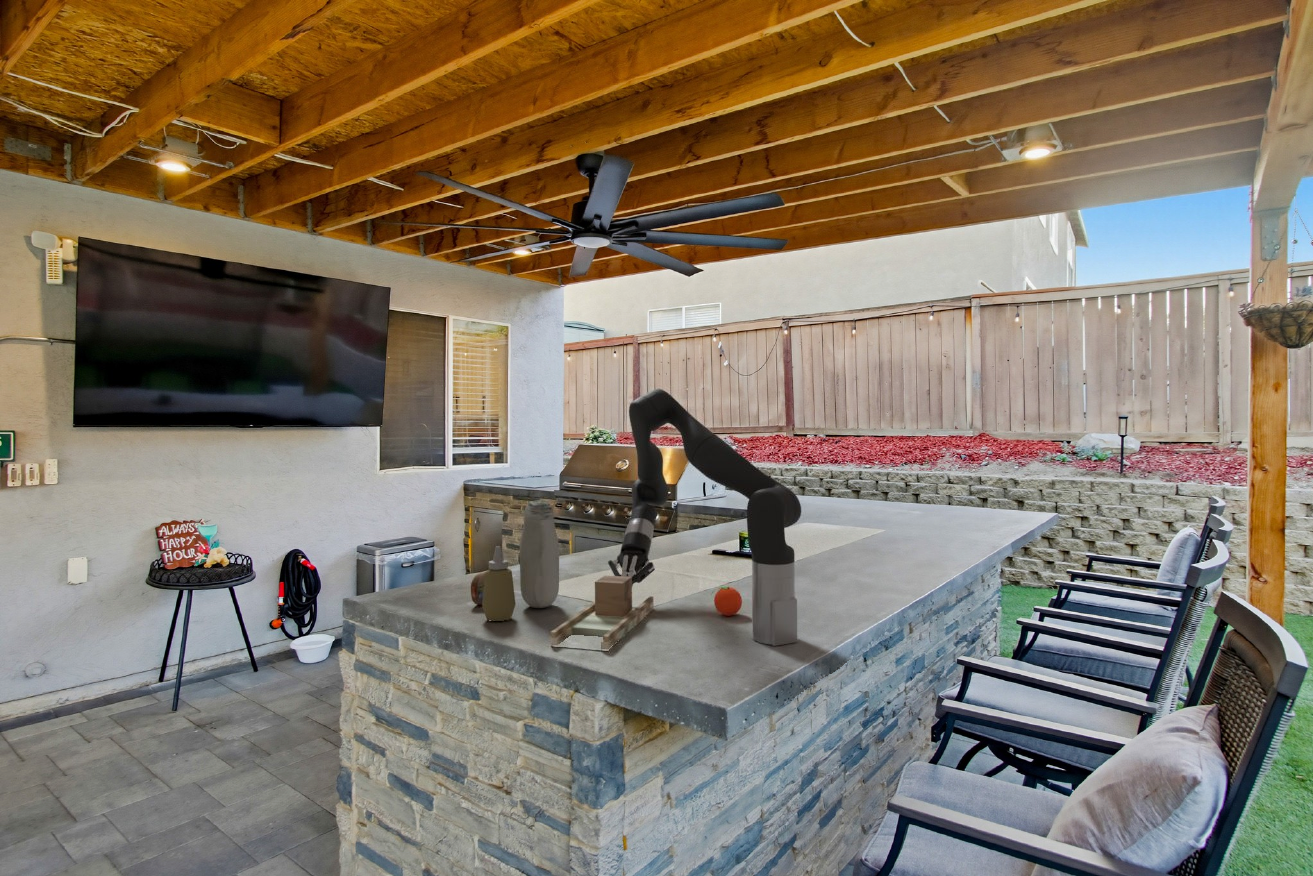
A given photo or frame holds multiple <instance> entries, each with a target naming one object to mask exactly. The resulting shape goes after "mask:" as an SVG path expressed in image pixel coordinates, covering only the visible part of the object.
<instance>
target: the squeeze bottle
mask: <svg viewBox="0 0 1313 876" xmlns="http://www.w3.org/2000/svg"><path fill="white" fill-rule="evenodd" d="M484 572H485V571H484ZM513 579H514V578H513V571H512V569H510V568H509V560H507V559H504V556H503V551H502V547H501V546H500V545H496V546H495V549H494V553H493V558H492V560H489V561H488V570H486V572H485V578H484V590H483V601H482V605H481V607H482V609H483V613H484V616H485V618H486V620H487V621H488V620H491V621H503V622H505V621H504V620H507V621H509V619H510V620H511V619H512V616H513V613H514V610H515V607H516V604H517V603H516V596H515V589H514V588H515V587H514V580H513Z"/></svg>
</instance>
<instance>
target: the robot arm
mask: <svg viewBox="0 0 1313 876" xmlns="http://www.w3.org/2000/svg"><path fill="white" fill-rule="evenodd" d="M628 416H629V417H628V418H629V423H630V427H631V431H632V433H631V434H632V436H633V441H634V444H635V450H636V455H637V457H636V458H637V477H638V479H637V478H636V480H635V481H634V482H633V484H632V486H631V499H632V509H631V514H630V518H629V522H628V524H627V526H626V528H625V532H624V536H623V539H622V544H621V548H620V552H619V554H618V555H617V557H616V559H614V560H612V559H610V560H608V561H607V564H608V566H609V568H610V570H611V572H612V574H613V576H623V577H632V587H633V586H634V584H636V583H638V584H640V583H641V582H642V581H644V580H645V579H646V578H647V577H648V576H650V575H652V573H653V572H654V571H656V569H655V565H654V563H653V562H652V561H651V562H650V561H649V560H650V559H649V555H650V549H651V547H652V542H653V538H654V529H655V524H656V520H657V516H658V515H657V514H658V513H657V510H656V507H654V506H657V507H658V506H660V507H661V506H663V505H664V504H666V502H667V500H668V499H669V498H668V497H669V487H668V484H667V481H666V479H665V477H664V458H663V457H664V456H663V453H662V452H661V450H660V448H659V447H658V446H657V445H656V444H655V443H654V442H652V441H651V434H652V432H653V431H657V430H658V429H659V428H661V427H663V426H665V425H666V424H670V425H672V426H673V427H674V428H675V429H676V430H677V431H678V432H679V433H680V435H681V439H682V440H681V441H682V446H683V450H684V453H685V456H686V457H685V458H686V459H687V461H688V462H689V463H690V464H691V466H693V467H694V468H695V469H696V470H698V472H700V473H701V474H702V475H703V476H705V477H707V478H708V479H709V480H711V481H713V482H714V483H717V484H718V485H721V486H723V487H725V488H728V489H730V490H732V491H735V492H737V493H739V494H741V495H742V496H744V497H746V498H747V499H748V502H747V504H746V505H747V506H746V528H747V529H746V530H747V542H748V548H749V551H750V553H751V572H752V573H751V584H752V585H751V589H752V590H751V591H752V592H751V593H752V595H751V596H752V597H751V599H752V602H751V603H752V604H751V606H752V608H751V609H752V639H753V640H754V641H756V642H758V643H761V644H765V645H771V646H774V647H777V646H781V645H787V644H792V643H793V644H795V643H798V599H797V598H796V594H795V593H796V591H795V589H796V586H795V579H796V577H795V576H796V575H795V574H796V573H795V569H796V568H795V566H796V565H795V560H796V559H795V549H794V548H793V547H792V546H790V545H788V543H787V542H786V535H785V534H786V532H785V529H786V528H789V527H791V526H793V525H795V524H797V522H798V521H799V520H800V518H801V516H802V506H801V503H800V500H799V497H798V496H797V495H796V494H795V492H794V491H793V490H791V489H790V488H788V487H787V486H785V485H784V484H782V483H780V482H779V481H777V480H776V479H774V478H772V477H771V476H769V475H767V474H766V473H765V472H763V471H762V470H760V468H759V469H758V468H757V467H756V466H755V465H754V464H753V463H751V461H749V460H748V459H747V458H745V457H744V456H743V455H742V454H740V453H739V452H737V450H736V449H734V448H733V447H732V446H731V445H729V444H728V443H727V442H726V441H725V440H724V439H722V438H721V437H720V436H718V435H717V434H715V432H714V433H713V432H712V431H711V430H710V429H709V428H707V427H706V426H705V425H704V424H702V423H701V422H700V421H698V419H696V418H695V417H694V416H693V415H692V414H691V413H689V411H688V410H686V408H684V406H683V405H682V404H680V402H678V401H677V399H675V398H674V397H673V396H672V395H671V394H670V393H668V392H667V391H665V390H664V389H662V388H655V389H653V390H650V391H648V392H647V393H645V394H643V395H641V396H639V397H637V398H636V399H634V400H632V402H630V404H629V407H628ZM652 505H653V506H652ZM619 566H620V569H621V573H620V572H619V570H618V568H619Z"/></svg>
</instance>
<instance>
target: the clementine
mask: <svg viewBox="0 0 1313 876" xmlns="http://www.w3.org/2000/svg"><path fill="white" fill-rule="evenodd" d="M715 590H718V591H717V592H716V593H715V596H714V599H713V602H714V603H713V604H714V607H715V609H716V610H717V612H718V613H719V614H721V615H723V616H727V617H729V616H734V615H736V614H738V613H739V611H740V610H741V609H742V605H743V599H742V596H741V593H740V592H739V591H738V590H737V589H736V588H734V587H730V586H721V587H717V588H715V589H714V591H715ZM714 591H712V592H711V595H710V596H712V594H713V593H714Z"/></svg>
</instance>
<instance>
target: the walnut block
mask: <svg viewBox="0 0 1313 876" xmlns="http://www.w3.org/2000/svg"><path fill="white" fill-rule="evenodd" d="M594 602H595V615H601V616H615V617H624V616H625V615H626V614H627V613H628V612H629V611H631V610H632V607H633V586H632V577H623V576H615V575H603V576H602V577H600V578H599V579H597V580H596V581H594Z"/></svg>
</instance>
